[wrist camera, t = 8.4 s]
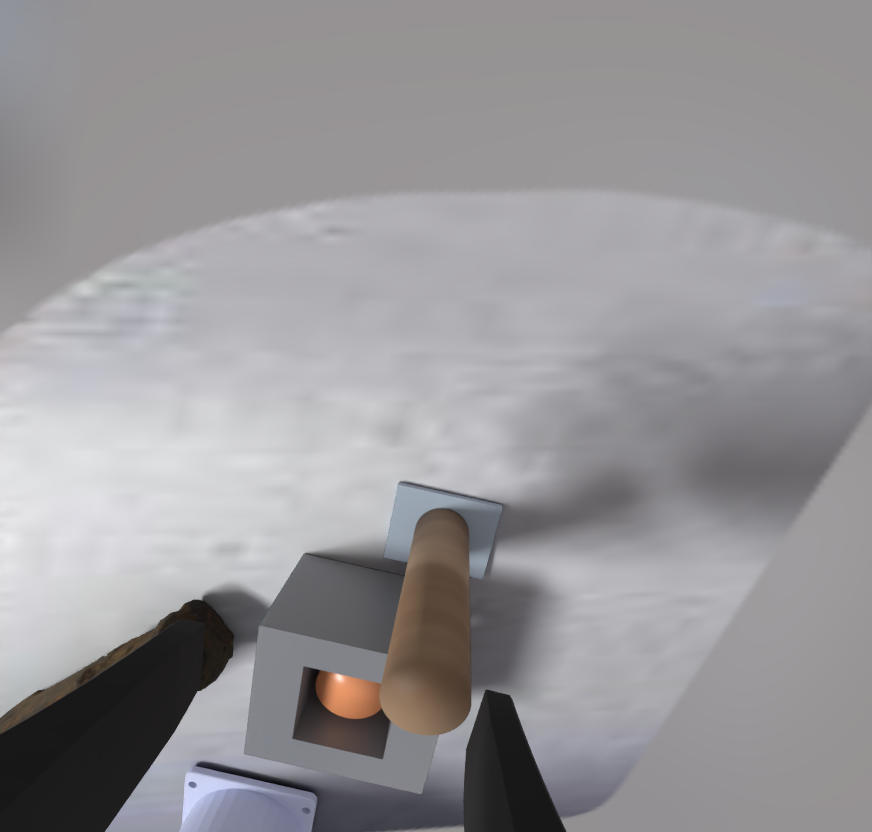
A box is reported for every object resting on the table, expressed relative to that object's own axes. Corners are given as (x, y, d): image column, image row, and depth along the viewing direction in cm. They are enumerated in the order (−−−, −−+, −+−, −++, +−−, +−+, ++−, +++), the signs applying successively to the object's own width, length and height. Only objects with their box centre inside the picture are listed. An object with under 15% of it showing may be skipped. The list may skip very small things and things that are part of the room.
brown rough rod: (204, 582, 23) (141, 649, 19) (247, 639, 24) (196, 716, 20) (-33, 699, 27) (-133, 779, 22) (11, 745, 28) (-77, 831, 23)
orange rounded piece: (389, 680, 22) (380, 725, 20) (327, 666, 22) (311, 709, 20) (400, 629, 21) (392, 670, 19) (336, 615, 21) (320, 654, 19)
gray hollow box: (432, 694, 24) (424, 795, 19) (288, 662, 24) (243, 754, 19) (461, 588, 22) (460, 670, 17) (303, 553, 22) (258, 625, 17)
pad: (482, 575, 22) (482, 579, 22) (384, 554, 22) (383, 557, 22) (502, 504, 21) (502, 507, 20) (399, 482, 21) (398, 484, 20)
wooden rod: (462, 561, 21) (459, 744, 13) (410, 550, 21) (372, 724, 13) (474, 514, 21) (481, 674, 12) (420, 502, 21) (387, 653, 12)
